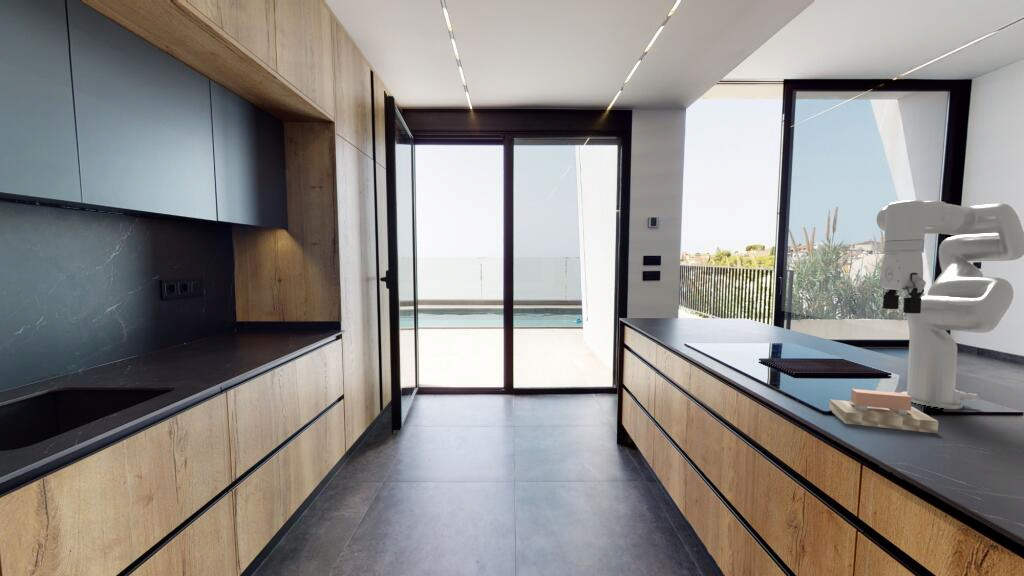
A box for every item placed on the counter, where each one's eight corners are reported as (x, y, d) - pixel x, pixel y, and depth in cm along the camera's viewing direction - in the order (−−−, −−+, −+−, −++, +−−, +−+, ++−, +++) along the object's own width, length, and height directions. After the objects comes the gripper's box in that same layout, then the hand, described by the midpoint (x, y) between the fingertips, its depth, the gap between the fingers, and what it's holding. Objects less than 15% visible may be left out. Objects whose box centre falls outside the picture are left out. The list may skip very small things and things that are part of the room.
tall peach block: (903, 421, 100) (904, 393, 99) (910, 425, 97) (911, 396, 96) (850, 415, 104) (851, 388, 103) (855, 420, 101) (856, 392, 100)
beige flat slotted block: (912, 417, 102) (912, 406, 101) (937, 433, 92) (938, 421, 92) (829, 409, 108) (829, 399, 108) (845, 423, 99) (845, 412, 99)
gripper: (869, 249, 112) (866, 307, 113) (904, 246, 96) (901, 314, 97) (902, 248, 109) (899, 307, 110) (944, 246, 93) (941, 315, 94)
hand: (900, 310), depth 103 cm, fingers open, 9 cm apart
